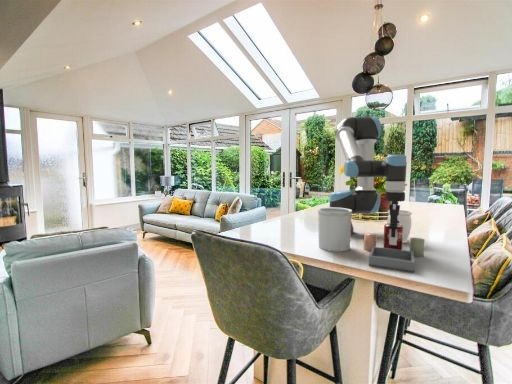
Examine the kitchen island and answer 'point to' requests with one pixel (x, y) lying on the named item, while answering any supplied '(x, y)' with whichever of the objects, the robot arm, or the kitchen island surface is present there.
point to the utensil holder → (334, 228)
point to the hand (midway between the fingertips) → (393, 241)
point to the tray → (392, 259)
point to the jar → (403, 223)
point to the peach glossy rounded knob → (369, 241)
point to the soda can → (399, 237)
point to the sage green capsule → (417, 247)
